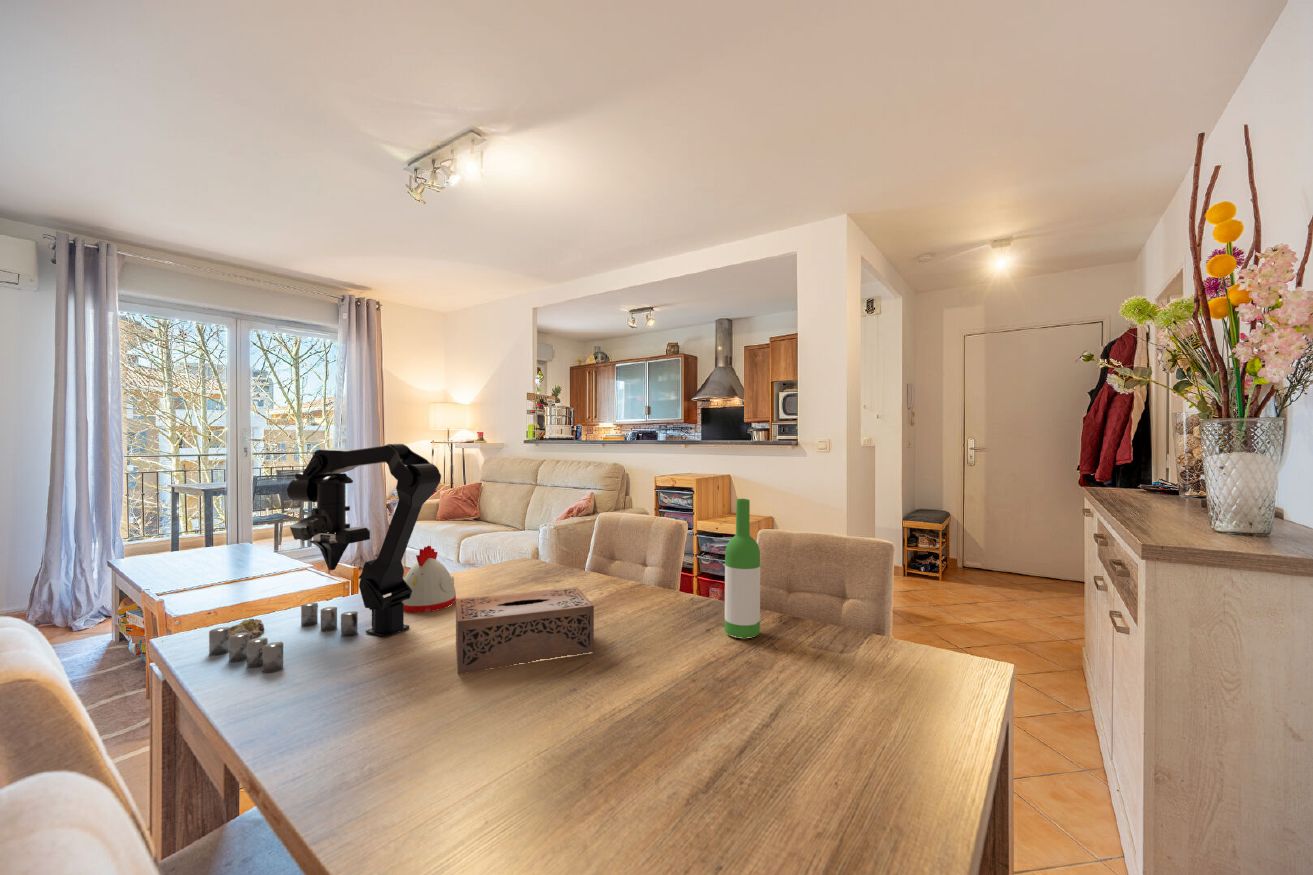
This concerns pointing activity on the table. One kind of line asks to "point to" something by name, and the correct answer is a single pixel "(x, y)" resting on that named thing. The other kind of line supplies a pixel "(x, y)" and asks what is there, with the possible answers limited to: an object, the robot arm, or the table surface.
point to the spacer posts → (272, 653)
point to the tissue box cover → (522, 628)
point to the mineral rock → (248, 628)
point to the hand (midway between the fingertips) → (331, 569)
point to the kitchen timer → (429, 584)
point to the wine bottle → (742, 578)
